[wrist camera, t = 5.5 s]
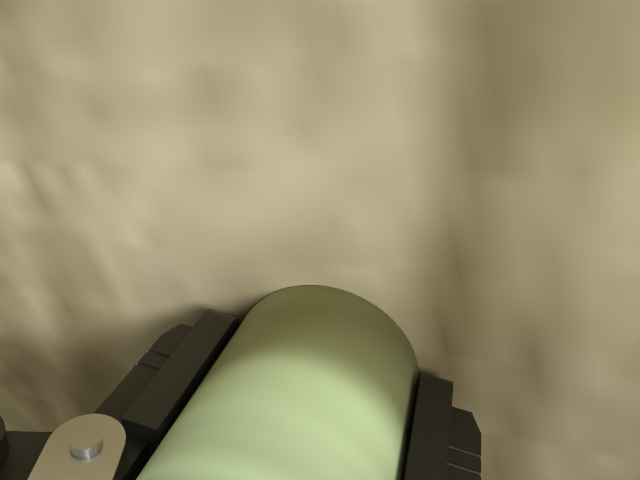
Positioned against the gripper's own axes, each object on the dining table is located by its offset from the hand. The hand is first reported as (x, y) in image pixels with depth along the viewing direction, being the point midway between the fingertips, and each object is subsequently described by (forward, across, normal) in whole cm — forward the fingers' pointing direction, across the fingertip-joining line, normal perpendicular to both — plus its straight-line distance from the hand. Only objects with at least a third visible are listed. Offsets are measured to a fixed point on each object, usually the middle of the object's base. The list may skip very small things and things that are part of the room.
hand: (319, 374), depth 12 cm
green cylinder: (0, 0, 0) cm, 0 cm away
